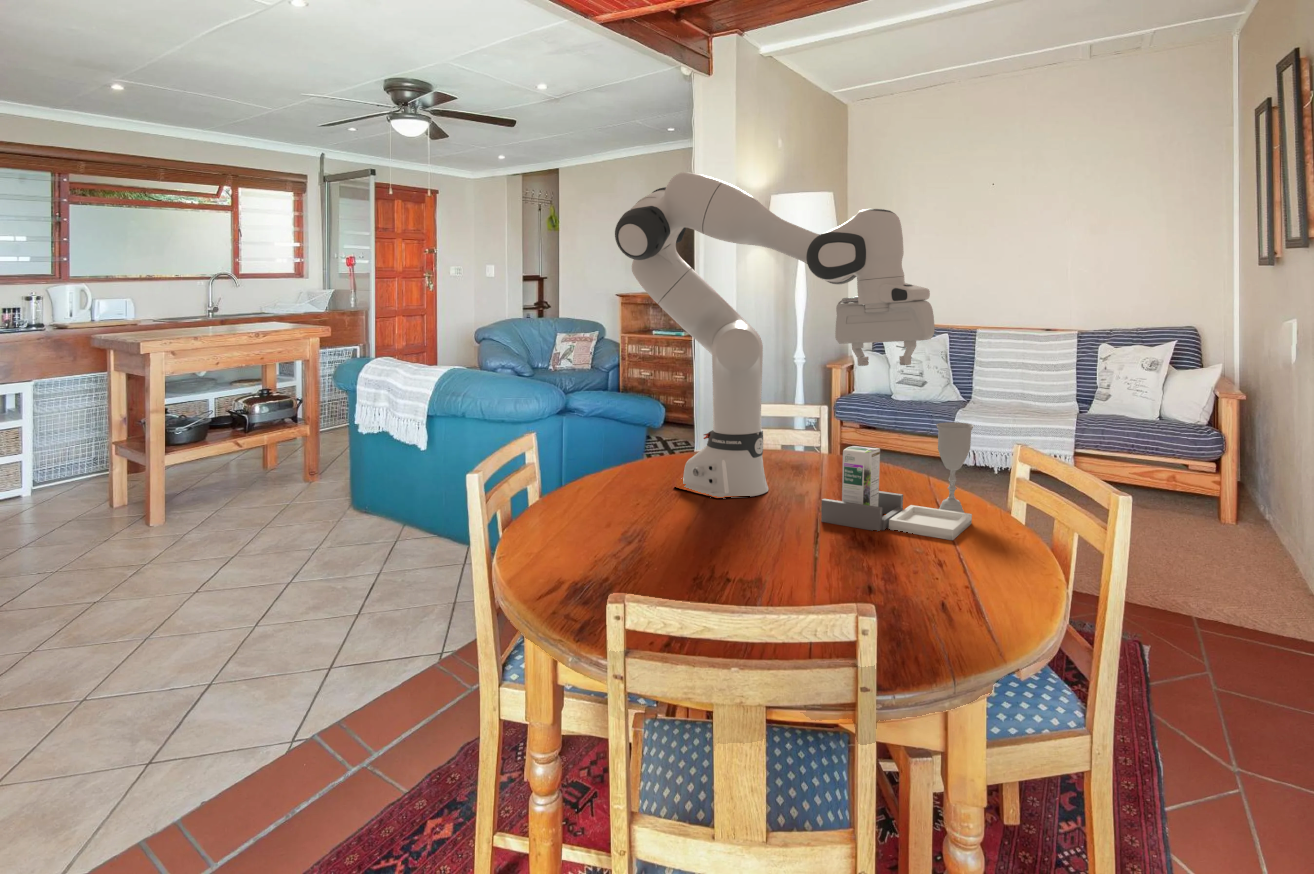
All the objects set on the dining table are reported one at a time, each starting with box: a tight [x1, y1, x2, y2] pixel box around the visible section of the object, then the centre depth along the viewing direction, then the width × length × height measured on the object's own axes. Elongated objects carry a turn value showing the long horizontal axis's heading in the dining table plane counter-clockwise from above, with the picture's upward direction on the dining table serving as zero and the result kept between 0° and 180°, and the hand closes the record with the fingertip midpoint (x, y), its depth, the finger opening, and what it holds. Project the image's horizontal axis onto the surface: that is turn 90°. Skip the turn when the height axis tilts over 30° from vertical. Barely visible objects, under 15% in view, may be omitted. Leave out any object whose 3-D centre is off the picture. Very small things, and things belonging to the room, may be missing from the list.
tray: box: [888, 504, 973, 541], centre depth 148 cm, size 12×12×2 cm
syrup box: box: [841, 445, 881, 507], centre depth 153 cm, size 6×6×14 cm
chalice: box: [935, 421, 975, 513], centre depth 156 cm, size 7×7×18 cm
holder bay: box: [820, 490, 904, 532], centre depth 153 cm, size 12×12×4 cm
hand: (883, 365), depth 150 cm, fingers open, 8 cm apart
